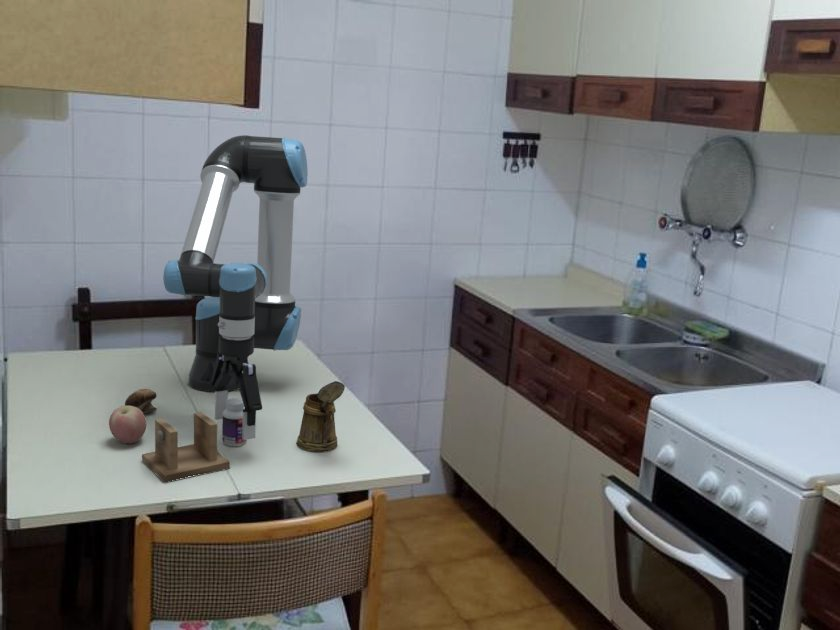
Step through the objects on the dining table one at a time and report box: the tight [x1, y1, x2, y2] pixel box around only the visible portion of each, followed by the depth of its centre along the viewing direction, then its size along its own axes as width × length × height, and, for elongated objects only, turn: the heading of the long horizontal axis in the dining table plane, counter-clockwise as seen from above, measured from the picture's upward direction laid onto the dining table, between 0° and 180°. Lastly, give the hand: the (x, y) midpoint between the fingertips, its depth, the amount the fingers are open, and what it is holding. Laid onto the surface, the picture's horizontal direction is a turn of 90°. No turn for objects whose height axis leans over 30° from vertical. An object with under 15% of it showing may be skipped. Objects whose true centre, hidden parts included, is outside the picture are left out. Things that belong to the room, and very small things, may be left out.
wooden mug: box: [296, 380, 346, 453], centre depth 195 cm, size 9×14×18 cm, turn 27°
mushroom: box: [124, 388, 157, 414], centre depth 211 cm, size 8×8×6 cm
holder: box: [141, 411, 231, 483], centre depth 183 cm, size 12×14×10 cm
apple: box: [108, 405, 147, 445], centre depth 193 cm, size 8×8×8 cm
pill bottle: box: [221, 397, 248, 447], centre depth 196 cm, size 5×5×10 cm
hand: (234, 428), depth 196 cm, fingers open, 13 cm apart
